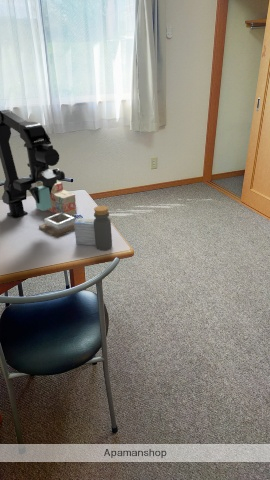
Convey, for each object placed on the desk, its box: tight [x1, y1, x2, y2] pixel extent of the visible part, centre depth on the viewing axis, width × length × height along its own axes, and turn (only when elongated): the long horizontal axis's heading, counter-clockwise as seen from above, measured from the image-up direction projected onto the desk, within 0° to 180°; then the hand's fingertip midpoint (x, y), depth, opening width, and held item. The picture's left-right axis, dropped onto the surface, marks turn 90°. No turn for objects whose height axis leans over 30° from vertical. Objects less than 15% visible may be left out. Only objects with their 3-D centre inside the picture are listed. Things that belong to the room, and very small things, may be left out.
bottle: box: [93, 205, 113, 252], centre depth 123 cm, size 6×6×15 cm
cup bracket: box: [43, 212, 76, 232], centre depth 141 cm, size 8×8×3 cm
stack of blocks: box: [36, 180, 77, 216], centre depth 155 cm, size 21×6×12 cm, turn 43°
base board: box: [38, 220, 75, 238], centre depth 141 cm, size 12×12×1 cm
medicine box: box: [74, 217, 96, 246], centre depth 128 cm, size 8×4×9 cm, turn 81°
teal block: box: [35, 185, 52, 212], centre depth 133 cm, size 4×4×8 cm
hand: (43, 201), depth 134 cm, fingers closed on teal block, 4 cm apart
